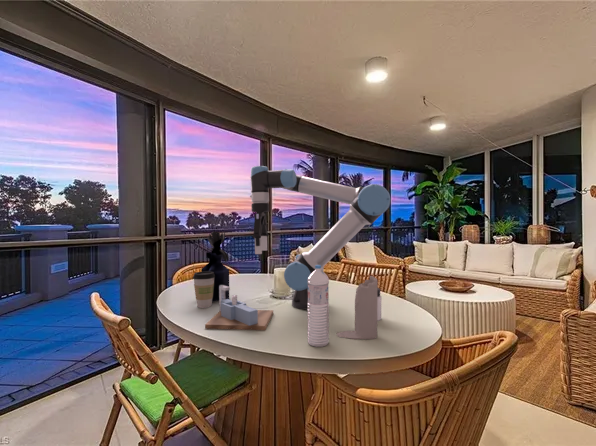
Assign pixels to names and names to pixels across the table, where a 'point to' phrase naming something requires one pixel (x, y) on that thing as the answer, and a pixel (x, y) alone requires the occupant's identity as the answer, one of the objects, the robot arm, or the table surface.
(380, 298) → the jar
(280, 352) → the table surface
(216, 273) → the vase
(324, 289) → the water bottle
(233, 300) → the pintle
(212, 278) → the coffee cup
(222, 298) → the bracket
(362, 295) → the metal bookend
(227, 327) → the board
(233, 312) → the link
